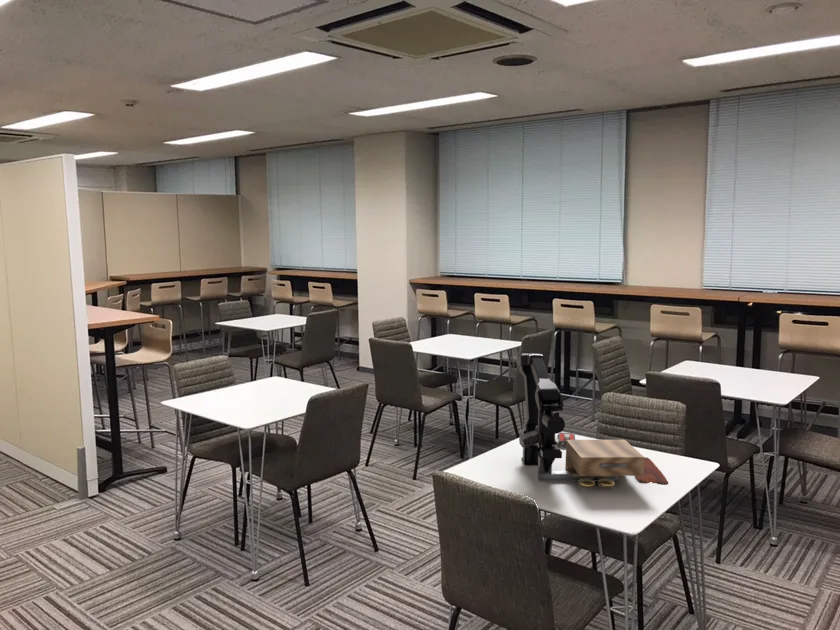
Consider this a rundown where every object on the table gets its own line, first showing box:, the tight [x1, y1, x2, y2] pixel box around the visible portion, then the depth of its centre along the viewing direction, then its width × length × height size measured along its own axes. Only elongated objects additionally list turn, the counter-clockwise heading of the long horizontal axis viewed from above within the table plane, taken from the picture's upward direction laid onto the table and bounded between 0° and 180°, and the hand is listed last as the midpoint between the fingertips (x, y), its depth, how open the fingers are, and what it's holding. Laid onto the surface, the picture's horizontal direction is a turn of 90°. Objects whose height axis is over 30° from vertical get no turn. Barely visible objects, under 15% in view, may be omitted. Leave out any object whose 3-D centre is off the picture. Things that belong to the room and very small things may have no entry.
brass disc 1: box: [578, 478, 596, 489], centre depth 214 cm, size 5×5×2 cm
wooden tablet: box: [634, 456, 669, 485], centre depth 228 cm, size 27×10×2 cm, turn 173°
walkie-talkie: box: [553, 431, 576, 449], centre depth 254 cm, size 9×4×20 cm
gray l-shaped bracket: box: [537, 455, 618, 482], centre depth 218 cm, size 26×3×8 cm, turn 92°
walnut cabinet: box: [564, 439, 645, 477], centre depth 214 cm, size 20×19×12 cm
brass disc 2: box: [597, 478, 615, 489], centre depth 214 cm, size 5×5×2 cm
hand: (545, 470), depth 218 cm, fingers closed on gray l-shaped bracket, 2 cm apart
